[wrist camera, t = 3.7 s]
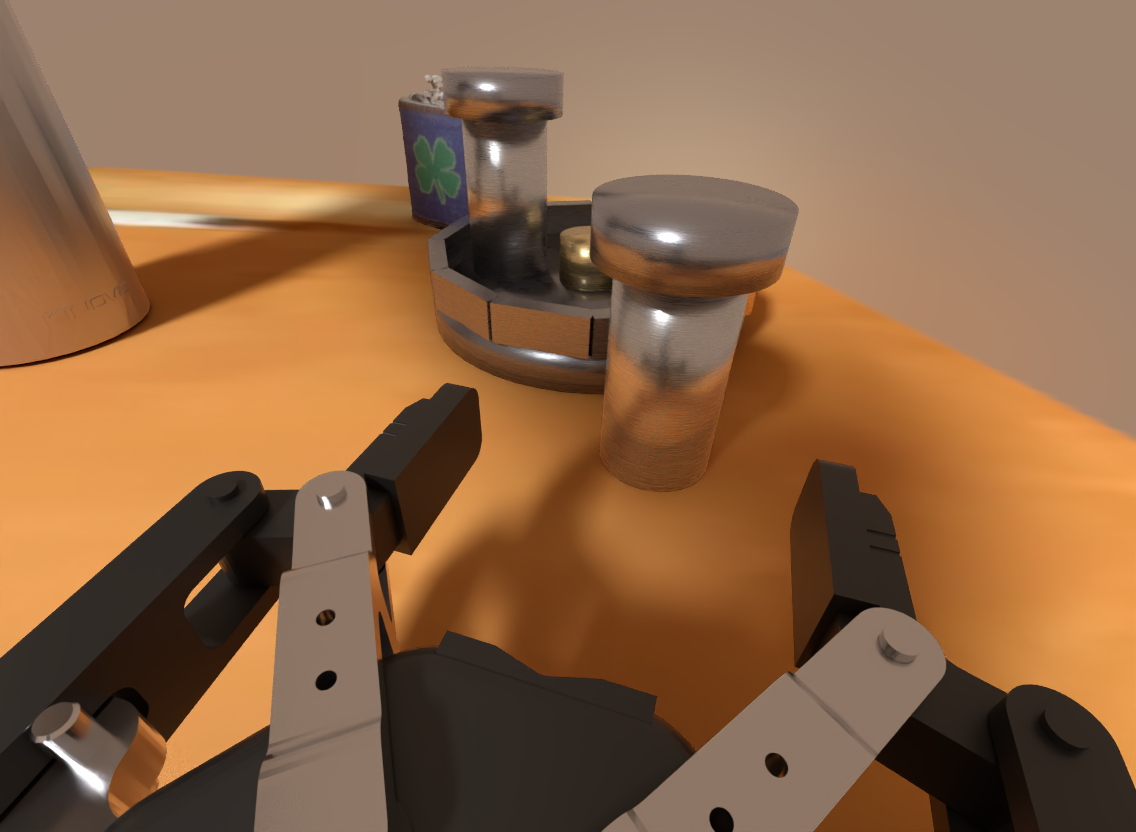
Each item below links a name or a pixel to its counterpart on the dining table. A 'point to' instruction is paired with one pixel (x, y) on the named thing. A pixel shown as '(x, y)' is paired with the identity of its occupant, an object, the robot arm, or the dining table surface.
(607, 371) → the silver capped cylinder
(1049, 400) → the dining table surface
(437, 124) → the flask
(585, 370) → the carrier
